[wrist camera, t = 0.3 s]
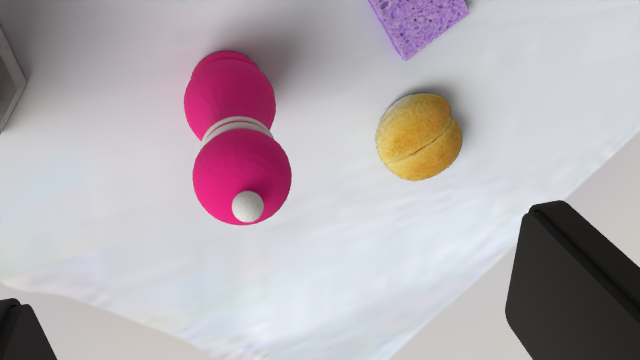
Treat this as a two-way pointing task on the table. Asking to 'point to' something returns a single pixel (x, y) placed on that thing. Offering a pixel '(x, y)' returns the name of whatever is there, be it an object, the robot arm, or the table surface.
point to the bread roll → (418, 137)
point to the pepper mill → (235, 140)
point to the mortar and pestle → (9, 81)
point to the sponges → (417, 21)
